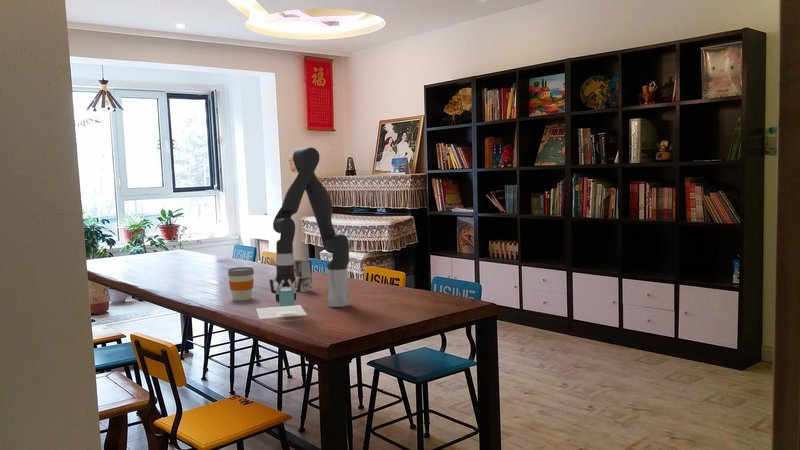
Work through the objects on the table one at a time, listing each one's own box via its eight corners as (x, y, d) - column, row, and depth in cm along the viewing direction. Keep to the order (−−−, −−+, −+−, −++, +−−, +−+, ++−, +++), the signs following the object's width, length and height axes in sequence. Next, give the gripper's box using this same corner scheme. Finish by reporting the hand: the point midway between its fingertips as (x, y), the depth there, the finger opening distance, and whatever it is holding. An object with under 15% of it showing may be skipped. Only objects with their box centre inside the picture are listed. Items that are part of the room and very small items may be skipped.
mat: (300, 306, 283) (300, 304, 283) (307, 316, 262) (307, 314, 262) (256, 309, 277) (256, 308, 277) (259, 320, 256) (259, 318, 256)
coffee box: (313, 290, 322) (312, 260, 320) (302, 292, 318) (301, 261, 316) (304, 288, 329) (303, 259, 328) (294, 290, 325) (293, 260, 324)
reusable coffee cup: (248, 301, 297) (246, 270, 296) (224, 300, 300) (223, 270, 299) (259, 296, 309) (258, 267, 308) (236, 296, 312) (235, 266, 311)
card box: (294, 305, 261) (294, 291, 260) (280, 306, 259) (279, 292, 258) (291, 301, 269) (291, 288, 269) (278, 302, 268) (277, 289, 267)
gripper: (268, 265, 257) (269, 304, 258) (303, 263, 261) (304, 302, 262) (267, 263, 264) (268, 301, 266) (300, 261, 268) (301, 299, 270)
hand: (286, 301), depth 264 cm, fingers closed on card box, 6 cm apart
